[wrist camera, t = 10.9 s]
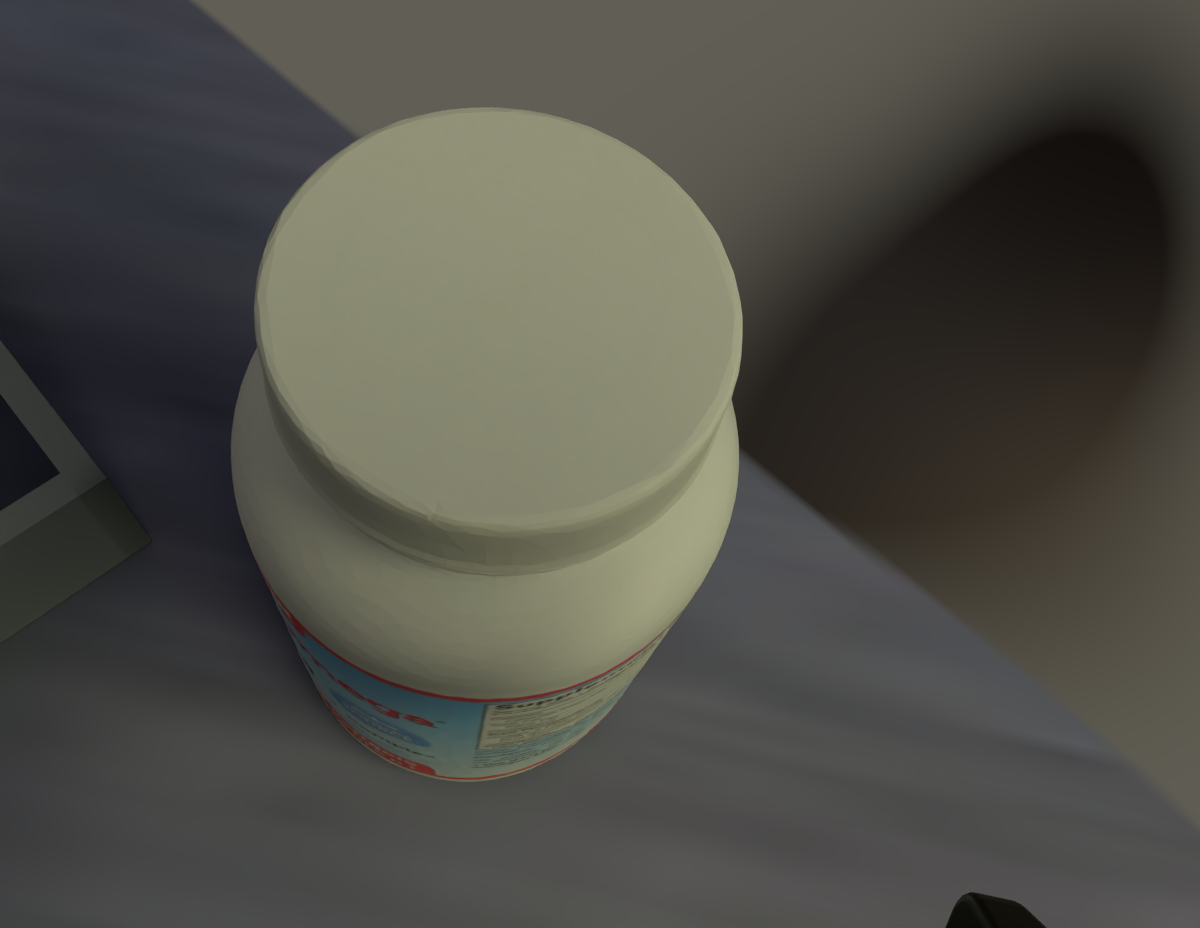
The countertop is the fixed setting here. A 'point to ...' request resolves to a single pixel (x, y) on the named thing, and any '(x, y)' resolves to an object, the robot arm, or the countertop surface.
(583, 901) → the countertop surface
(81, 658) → the countertop surface
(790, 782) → the countertop surface
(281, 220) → the pill bottle
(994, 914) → the robot arm
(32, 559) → the tray
